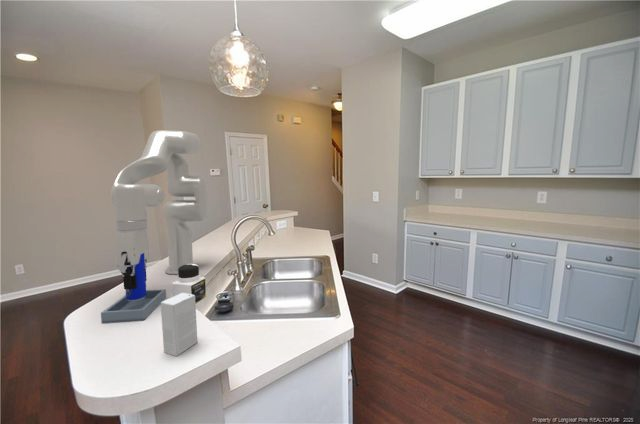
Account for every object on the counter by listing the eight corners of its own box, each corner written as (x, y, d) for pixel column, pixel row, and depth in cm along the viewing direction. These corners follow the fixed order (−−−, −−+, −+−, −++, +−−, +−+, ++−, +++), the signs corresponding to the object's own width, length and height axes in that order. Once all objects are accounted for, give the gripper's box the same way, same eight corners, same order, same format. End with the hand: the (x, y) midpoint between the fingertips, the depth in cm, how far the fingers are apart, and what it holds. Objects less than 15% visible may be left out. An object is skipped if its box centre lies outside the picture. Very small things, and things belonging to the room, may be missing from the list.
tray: (131, 299, 89) (131, 291, 88) (166, 297, 90) (165, 289, 90) (101, 323, 73) (100, 312, 73) (143, 320, 75) (143, 310, 75)
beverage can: (125, 298, 82) (122, 250, 80) (145, 293, 85) (142, 247, 84) (127, 303, 78) (124, 253, 76) (148, 298, 81) (145, 250, 80)
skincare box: (184, 338, 66) (182, 291, 65) (198, 342, 64) (196, 294, 63) (162, 352, 60) (159, 301, 59) (176, 357, 59) (173, 305, 58)
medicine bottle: (192, 306, 84) (190, 269, 83) (172, 304, 85) (170, 267, 84) (206, 297, 91) (205, 263, 90) (187, 295, 92) (186, 261, 91)
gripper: (133, 222, 87) (136, 276, 89) (99, 230, 70) (104, 297, 72) (158, 222, 88) (161, 275, 90) (130, 230, 72) (134, 295, 73)
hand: (135, 284), depth 81 cm, fingers closed on beverage can, 5 cm apart
